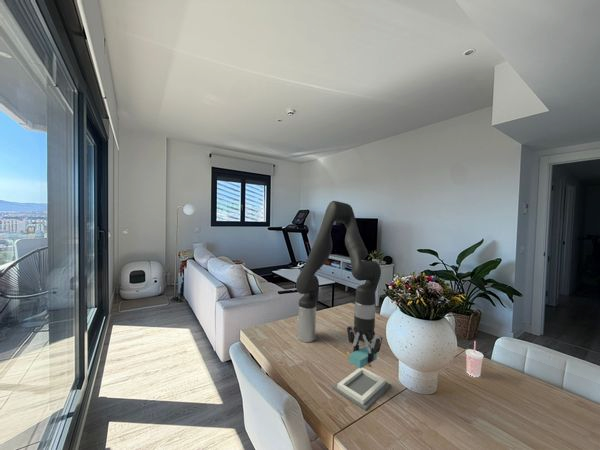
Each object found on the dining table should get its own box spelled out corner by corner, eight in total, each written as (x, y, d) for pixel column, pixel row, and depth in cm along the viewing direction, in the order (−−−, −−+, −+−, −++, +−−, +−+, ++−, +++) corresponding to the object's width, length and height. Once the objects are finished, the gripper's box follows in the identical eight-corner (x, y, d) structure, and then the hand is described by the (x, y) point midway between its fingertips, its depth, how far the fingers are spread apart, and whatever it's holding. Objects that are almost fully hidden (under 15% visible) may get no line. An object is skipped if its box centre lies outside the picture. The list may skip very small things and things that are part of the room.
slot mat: (332, 388, 92) (332, 383, 92) (358, 368, 104) (359, 363, 104) (365, 410, 82) (365, 404, 82) (390, 385, 94) (390, 380, 94)
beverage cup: (461, 369, 106) (462, 337, 106) (475, 369, 106) (477, 337, 106) (471, 378, 100) (472, 344, 99) (486, 379, 100) (488, 345, 99)
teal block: (365, 353, 98) (366, 345, 98) (376, 359, 94) (376, 351, 94) (349, 361, 92) (349, 354, 92) (360, 368, 88) (360, 360, 88)
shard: (370, 368, 106) (370, 364, 106) (353, 369, 105) (353, 365, 105) (360, 354, 117) (360, 350, 117) (344, 355, 115) (345, 351, 115)
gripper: (387, 317, 90) (385, 363, 90) (353, 306, 100) (352, 347, 101) (377, 323, 84) (375, 371, 85) (342, 311, 95) (341, 354, 95)
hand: (363, 358), depth 93 cm, fingers closed on teal block, 5 cm apart
